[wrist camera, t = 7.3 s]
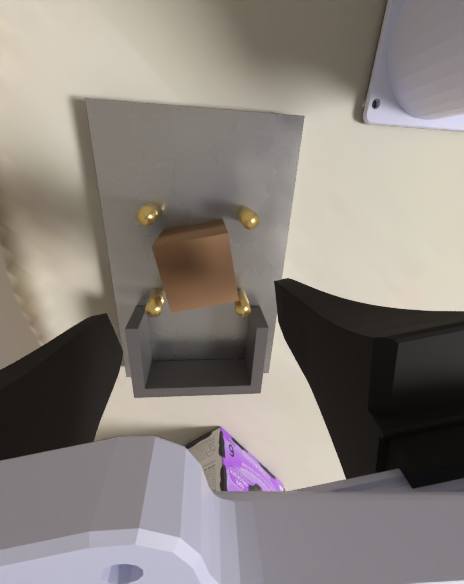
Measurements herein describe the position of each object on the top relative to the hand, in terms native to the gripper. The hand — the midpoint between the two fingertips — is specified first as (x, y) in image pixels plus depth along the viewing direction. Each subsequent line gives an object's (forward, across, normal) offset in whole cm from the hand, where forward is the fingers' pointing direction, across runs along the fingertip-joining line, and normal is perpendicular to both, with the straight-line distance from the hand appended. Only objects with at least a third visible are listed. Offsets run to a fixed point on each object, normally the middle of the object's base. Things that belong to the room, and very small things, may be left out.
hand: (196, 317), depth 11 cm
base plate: (+9, 0, +1) cm, 9 cm away
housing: (+8, +1, +6) cm, 10 cm away
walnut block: (+8, 0, 0) cm, 8 cm away
